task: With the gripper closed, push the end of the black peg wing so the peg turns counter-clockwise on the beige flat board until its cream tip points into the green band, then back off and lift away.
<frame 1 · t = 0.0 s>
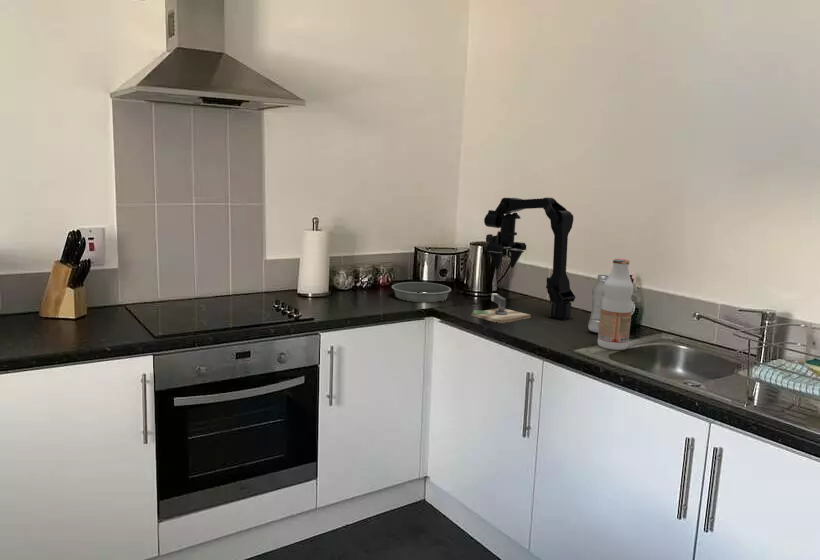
hand: (504, 268, 275), 15 cm above the worktop, tool pointing down, fingers open, 9 cm apart
beige flat board: (500, 316, 254), on the worktop
cake pan: (420, 298, 283), on the worktop
peg: (498, 302, 256), point 5 cm above the worktop, hinge at -30.0°
plastic bottle: (597, 333, 237), on the worktop
fruit juice: (612, 347, 219), on the worktop
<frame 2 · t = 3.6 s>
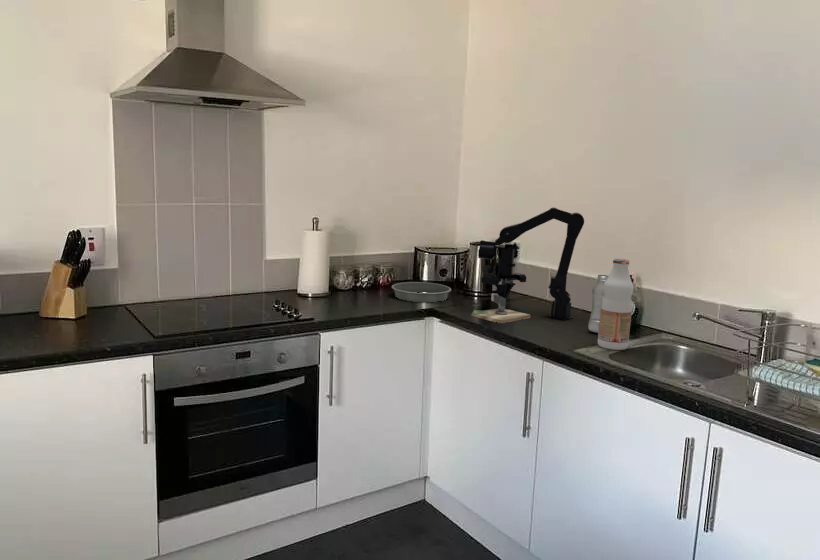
hand: (502, 301, 260), 4 cm above the worktop, tool pointing down, fingers closed
peg: (498, 302, 256), point 5 cm above the worktop, hinge at -29.9°, touching gripper
everything else where it was.
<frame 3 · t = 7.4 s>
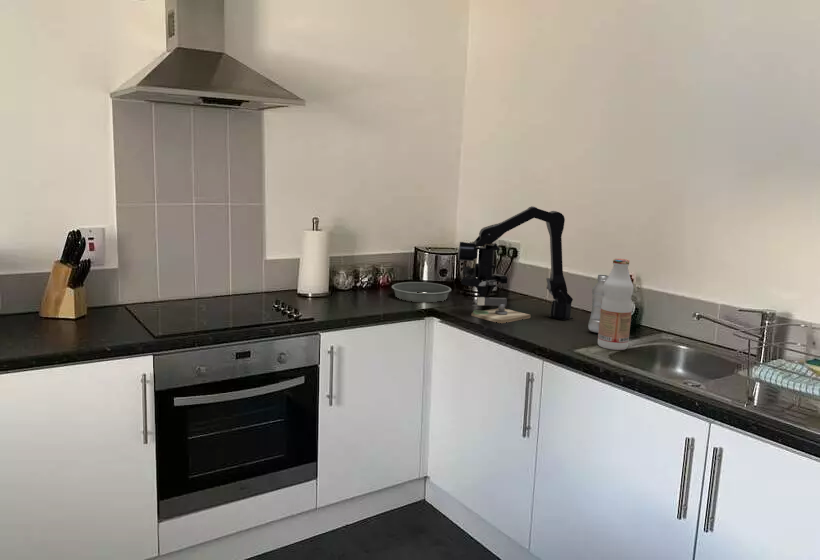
hand: (483, 302, 256), 4 cm above the worktop, tool pointing down, fingers closed
peg: (491, 303, 252), point 5 cm above the worktop, hinge at 51.9°
everything else where it was.
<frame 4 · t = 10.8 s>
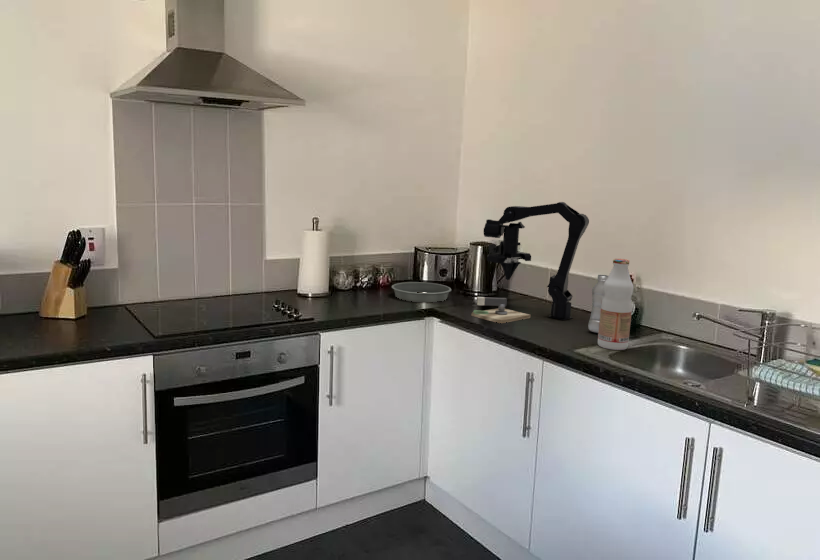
hand: (507, 279, 264), 12 cm above the worktop, tool pointing down, fingers closed
nothing on the worktop moved.
at the end: peg at +52° (first picture: -30°) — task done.
